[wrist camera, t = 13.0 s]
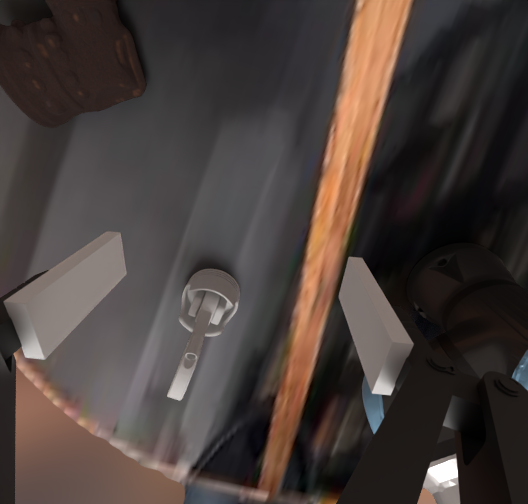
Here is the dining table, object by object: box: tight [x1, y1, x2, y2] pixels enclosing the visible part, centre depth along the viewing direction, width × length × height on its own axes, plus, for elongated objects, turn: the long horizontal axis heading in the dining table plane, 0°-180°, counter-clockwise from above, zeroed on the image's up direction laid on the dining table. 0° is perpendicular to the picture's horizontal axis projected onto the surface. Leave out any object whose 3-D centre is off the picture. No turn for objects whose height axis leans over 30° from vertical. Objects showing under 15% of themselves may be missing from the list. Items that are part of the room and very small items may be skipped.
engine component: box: [167, 269, 240, 400], centre depth 43 cm, size 11×20×10 cm
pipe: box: [0, 0, 147, 128], centre depth 33 cm, size 10×15×15 cm
